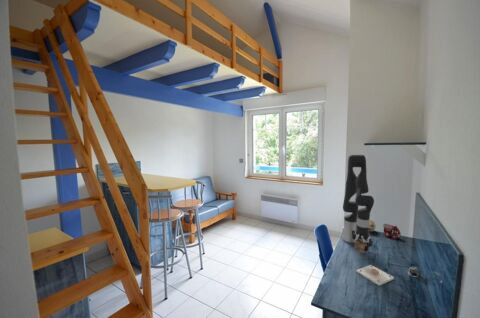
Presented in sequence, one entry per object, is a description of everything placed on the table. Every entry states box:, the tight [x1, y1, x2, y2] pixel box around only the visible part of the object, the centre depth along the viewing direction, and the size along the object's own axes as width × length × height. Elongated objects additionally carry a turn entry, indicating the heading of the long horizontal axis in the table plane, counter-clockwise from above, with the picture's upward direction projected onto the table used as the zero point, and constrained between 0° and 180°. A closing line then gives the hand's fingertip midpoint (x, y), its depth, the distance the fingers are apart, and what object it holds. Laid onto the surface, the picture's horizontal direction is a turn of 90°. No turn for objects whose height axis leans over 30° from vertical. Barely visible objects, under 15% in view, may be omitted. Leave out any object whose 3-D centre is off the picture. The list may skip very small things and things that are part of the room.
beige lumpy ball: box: [369, 218, 376, 233], centre depth 194 cm, size 10×12×11 cm
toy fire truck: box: [382, 223, 402, 240], centre depth 182 cm, size 7×12×10 cm, turn 47°
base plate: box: [356, 264, 395, 287], centre depth 129 cm, size 14×14×3 cm
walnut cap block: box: [353, 239, 370, 254], centre depth 141 cm, size 6×6×6 cm
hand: (361, 248), depth 141 cm, fingers closed on walnut cap block, 6 cm apart
